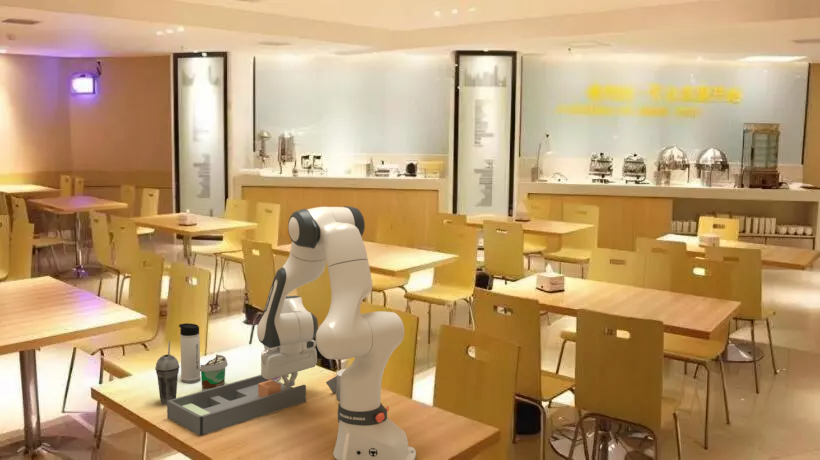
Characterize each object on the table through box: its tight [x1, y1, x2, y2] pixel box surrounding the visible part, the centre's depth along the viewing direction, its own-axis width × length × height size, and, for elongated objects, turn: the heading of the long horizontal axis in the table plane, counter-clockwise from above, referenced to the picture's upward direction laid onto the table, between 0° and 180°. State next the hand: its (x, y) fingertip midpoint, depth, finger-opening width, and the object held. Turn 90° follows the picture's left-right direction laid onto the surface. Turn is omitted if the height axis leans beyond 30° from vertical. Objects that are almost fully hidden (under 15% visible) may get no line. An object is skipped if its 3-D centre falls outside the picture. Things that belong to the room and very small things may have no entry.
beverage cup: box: [154, 340, 180, 406], centre depth 241 cm, size 7×7×20 cm
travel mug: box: [178, 322, 201, 384], centre depth 261 cm, size 6×7×20 cm
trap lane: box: [166, 374, 307, 437], centre depth 238 cm, size 38×18×6 cm, turn 137°
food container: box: [200, 354, 229, 391], centre depth 255 cm, size 12×6×10 cm, turn 168°
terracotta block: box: [258, 380, 281, 397], centre depth 242 cm, size 5×5×4 cm
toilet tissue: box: [325, 368, 347, 402], centre depth 250 cm, size 9×13×9 cm
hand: (289, 386), depth 248 cm, fingers closed
